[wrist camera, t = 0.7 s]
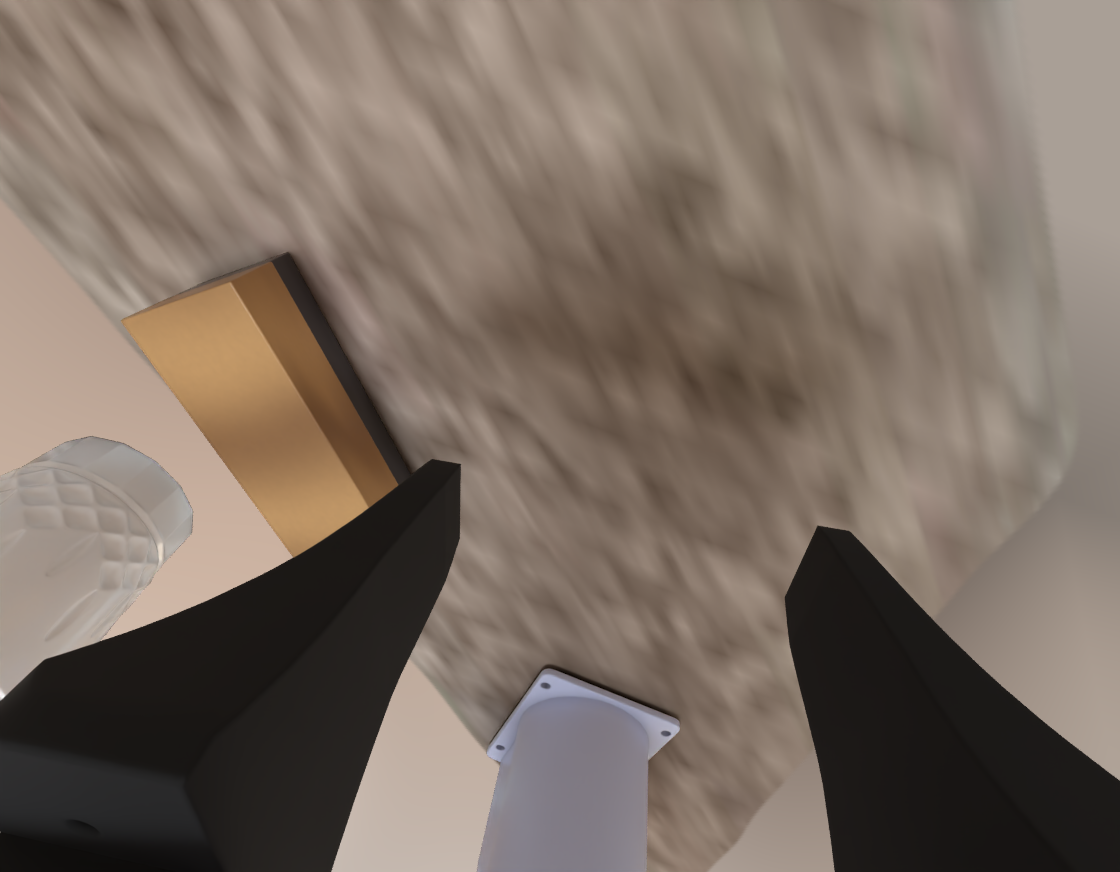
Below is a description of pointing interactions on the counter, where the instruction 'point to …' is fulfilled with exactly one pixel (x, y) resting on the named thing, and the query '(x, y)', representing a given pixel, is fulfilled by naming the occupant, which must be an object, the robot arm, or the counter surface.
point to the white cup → (79, 546)
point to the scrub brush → (273, 397)
